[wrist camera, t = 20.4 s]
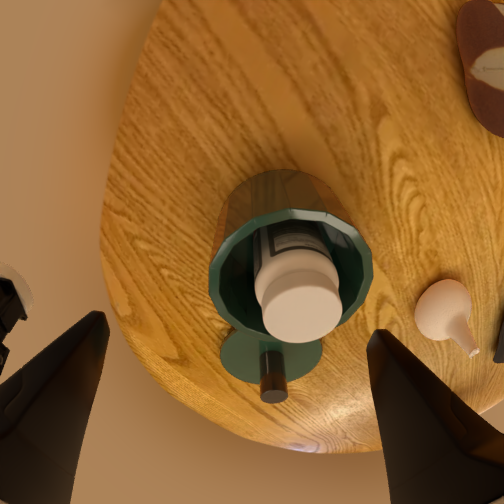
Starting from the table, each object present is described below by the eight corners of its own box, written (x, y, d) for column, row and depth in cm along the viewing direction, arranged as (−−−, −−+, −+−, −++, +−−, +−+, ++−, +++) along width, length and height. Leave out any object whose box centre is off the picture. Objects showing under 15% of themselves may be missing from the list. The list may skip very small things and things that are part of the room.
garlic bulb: (409, 329, 28) (436, 389, 22) (411, 285, 25) (448, 350, 18) (457, 310, 27) (489, 364, 21) (464, 266, 24) (507, 321, 17)
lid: (219, 374, 31) (216, 418, 26) (222, 309, 26) (217, 361, 21) (308, 376, 32) (314, 420, 27) (331, 314, 27) (345, 364, 22)
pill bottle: (287, 273, 24) (301, 360, 16) (239, 239, 22) (235, 324, 15) (331, 232, 22) (367, 311, 15) (284, 191, 20) (305, 262, 13)
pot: (216, 277, 24) (208, 338, 19) (221, 163, 19) (210, 201, 14) (328, 284, 25) (346, 342, 19) (355, 178, 20) (393, 219, 14)
